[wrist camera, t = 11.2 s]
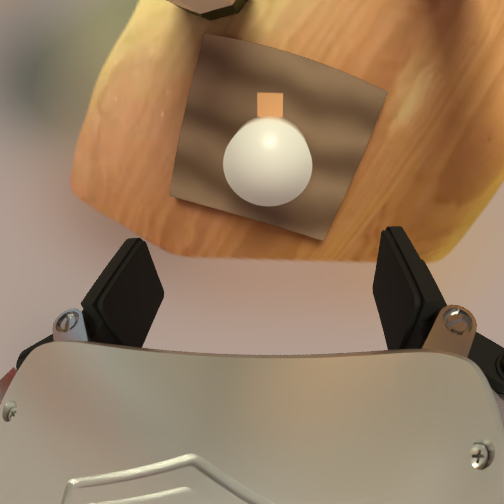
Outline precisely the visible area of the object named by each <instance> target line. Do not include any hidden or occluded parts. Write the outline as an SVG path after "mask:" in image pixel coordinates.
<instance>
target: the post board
mask: <svg viewBox="0 0 504 504" xmlns="http://www.w3.org/2000/svg"><path fill="white" fill-rule="evenodd" d="M258 92H262V93H283V117H284V118H286V119H288V120H290V121H292V122H293V123H294V124H295V125H296V126H298V128H299V129H300V130H301V132H302V133H303V135H304V137H305V139H306V142H307V145H308V148H309V151H310V154H311V158H312V174H311V177H310V180H309V182H308V185H307V186H306V188H305V189H304V190H303V192H302V193H301V194H300V195H299V196H297V197H296V198H295V199H293V200H291V201H290V202H288V203H285V204H282V205H278V206H260V205H255V204H252V203H250V202H248V201H246V200H244V199H242V198H241V197H240V196H238V195H237V194H236V193H235V192H234V191H233V190H232V188H231V187H230V185H229V184H228V182H227V180H226V177H225V174H224V169H223V159H224V154H225V151H226V148H227V146H228V144H229V143H230V141H231V140H232V138H233V137H234V136H235V134H236V133H237V132H238V130H239V129H240V128H241V127H242V126H243V125H244V124H245V123H246V122H247V121H249V120H251V119H253V118H255V117H257V93H258ZM387 93H388V92H387V91H385V90H383V89H381V88H379V87H377V86H375V85H373V84H371V83H368V82H366V81H364V80H362V79H359V78H357V77H355V76H353V75H350V74H348V73H345V72H343V71H340V70H338V69H335V68H333V67H330V66H328V65H325V64H322V63H319V62H317V61H314V60H311V59H308V58H305V57H302V56H299V55H296V54H292V53H289V52H286V51H282V50H279V49H275V48H272V47H268V46H264V45H260V44H256V43H252V42H248V41H243V40H239V39H234V38H229V37H223V36H218V35H212V34H206V33H205V37H204V40H203V43H202V47H201V50H200V54H199V57H198V61H197V65H196V68H195V72H194V76H193V80H192V84H191V88H190V92H189V96H188V101H187V105H186V109H185V114H184V118H183V123H182V128H181V132H180V137H179V142H178V148H177V153H176V158H175V164H174V169H173V175H172V181H171V188H170V194H169V196H172V197H175V198H179V199H183V200H187V201H190V202H194V203H197V204H201V205H205V206H208V207H212V208H215V209H219V210H222V211H226V212H229V213H233V214H236V215H240V216H243V217H246V218H250V219H253V220H257V221H260V222H263V223H267V224H270V225H273V226H277V227H280V228H283V229H287V230H290V231H293V232H296V233H300V234H303V235H306V236H309V237H312V238H316V239H319V240H322V241H323V240H324V238H325V236H326V234H327V232H328V230H329V228H330V226H331V224H332V222H333V220H334V217H335V215H336V213H337V211H338V209H339V207H340V205H341V202H342V200H343V198H344V196H345V194H346V192H347V189H348V187H349V185H350V183H351V180H352V178H353V176H354V174H355V171H356V169H357V167H358V165H359V162H360V160H361V158H362V155H363V153H364V151H365V148H366V146H367V143H368V141H369V139H370V136H371V134H372V131H373V129H374V126H375V124H376V121H377V119H378V116H379V114H380V111H381V109H382V106H383V104H384V101H385V99H386V96H387Z"/></svg>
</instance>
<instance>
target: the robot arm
mask: <svg viewBox="0 0 504 504" xmlns="http://www.w3.org/2000/svg"><path fill="white" fill-rule="evenodd" d="M373 295H374V298H375V302H376V305H377V308H378V312H379V316H380V320H381V324H382V327H383V331H384V335H385V339H386V343H387V347H388V350H384V351H371V352H355V353H336V354H311V355H237V354H212V353H195V352H182V351H169V350H158V349H148V348H142V346H143V343H144V341H145V339H146V336H147V334H148V332H149V329H150V327H151V325H152V322H153V320H154V318H155V316H156V313H157V311H158V308H159V307H160V304H161V302H162V300H163V298H164V290H163V287H162V285H161V282H160V279H159V277H158V275H157V271H156V269H155V266H154V263H153V261H152V258H151V255H150V252H149V250H148V247H147V244H146V242H145V241H143V240H142V239H141V238H132V239H131V238H130V239H127V240H126V241H125V242H124V243H123V245H122V246H121V247H120V249H119V250H118V252H117V253H116V254H115V256H114V257H113V258H112V259H111V261H110V262H109V264H108V265H107V266H106V268H105V269H104V270H103V272H102V273H101V275H100V276H99V277H98V279H97V280H96V282H95V283H94V285H93V286H92V288H91V289H90V290H89V292H88V293H87V295H86V296H85V298H84V299H83V301H82V302H81V305H82V307H83V308H84V309H83V311H82V312H81V311H80V310H79V309H69V310H67V311H65V312H63V313H62V314H60V315H59V316H58V317H57V319H56V320H55V322H54V324H53V334H52V335H50V336H48V337H47V338H45V339H43V340H41V341H39V342H38V343H36V344H34V345H33V346H31V347H29V348H27V349H26V350H24V351H23V352H22V353H21V354H20V356H19V358H18V360H17V365H16V368H17V369H15V368H14V367H13V368H12V369H11V370H10V371H9V372H8V373H7V374H6V375H5V376H4V377H3V378H2V379H1V380H0V504H504V348H503V347H501V346H500V345H498V344H496V343H495V342H493V341H491V340H489V339H488V338H486V337H484V336H482V335H481V334H479V333H477V332H476V327H477V324H476V320H475V318H474V316H473V315H472V313H471V312H470V311H469V310H467V309H465V308H464V307H461V306H458V305H449V306H447V304H446V302H445V300H444V298H443V296H442V294H441V292H440V290H439V288H438V286H437V284H436V282H435V280H434V278H433V277H432V275H431V273H430V271H429V269H428V267H427V265H426V264H425V262H424V261H423V260H422V259H420V257H419V255H418V253H417V252H416V250H415V248H414V246H413V245H412V243H411V241H410V240H409V238H408V236H407V235H406V233H405V231H404V230H403V228H402V227H401V226H392V227H387V228H386V230H383V231H382V232H381V239H380V246H379V252H378V259H377V265H376V271H375V276H374V282H373Z"/></svg>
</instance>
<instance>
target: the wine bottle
mask: <svg viewBox="0 0 504 504" xmlns="http://www.w3.org/2000/svg"><path fill="white" fill-rule="evenodd" d="M167 1H169V2H171V3H172V4H174V5H176V6H178V7H180V8H182V9H183V10H185V11H187V12H190V13H192V14H195V15H197V16H200V17H202V18H205V19H207V20H210V21H211V20H214V19H218V18H221V17H225V16H229V15H233V14H237V13H239V11H240V10H241V9H242V7H243V6H244V5H245V3H246V2H247V1H248V0H167Z"/></svg>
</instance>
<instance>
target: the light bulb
mask: <svg viewBox="0 0 504 504" xmlns="http://www.w3.org/2000/svg"><path fill="white" fill-rule="evenodd" d="M223 169H224V174H225V177H226V180H227V182H228V184H229V185H230V187H231V188H232V190H233V191H234V192H235V193H236V194H237V195H238V196H240V197H241V198H242V199H244V200H246V201H248V202H250V203H252V204H255V205H260V206H278V205H282V204H285V203H288V202H290V201H291V200H293V199H295V198H296V197H297V196H299V195H300V194H301V193H302V192H303V190H304V189H305V188H306V186H307V185H308V182H309V180H310V177H311V174H312V158H311V154H310V151H309V148H308V145H307V142H306V139H305V137H304V135H303V133H302V132H301V130H300V129H299V128H298V126H296V125H295V124H294V123H293V122H292V121H290V120H288V119H286V118H284V117H283V93H262V92H258V93H257V117H255V118H253V119H251V120H249V121H247V122H246V123H245V124H244V125H243V126H242V127H241V128H240V129H239V130H238V132H237V133H236V134H235V136H234V137H233V138H232V140H231V141H230V143H229V144H228V146H227V148H226V151H225V154H224V159H223Z"/></svg>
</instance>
